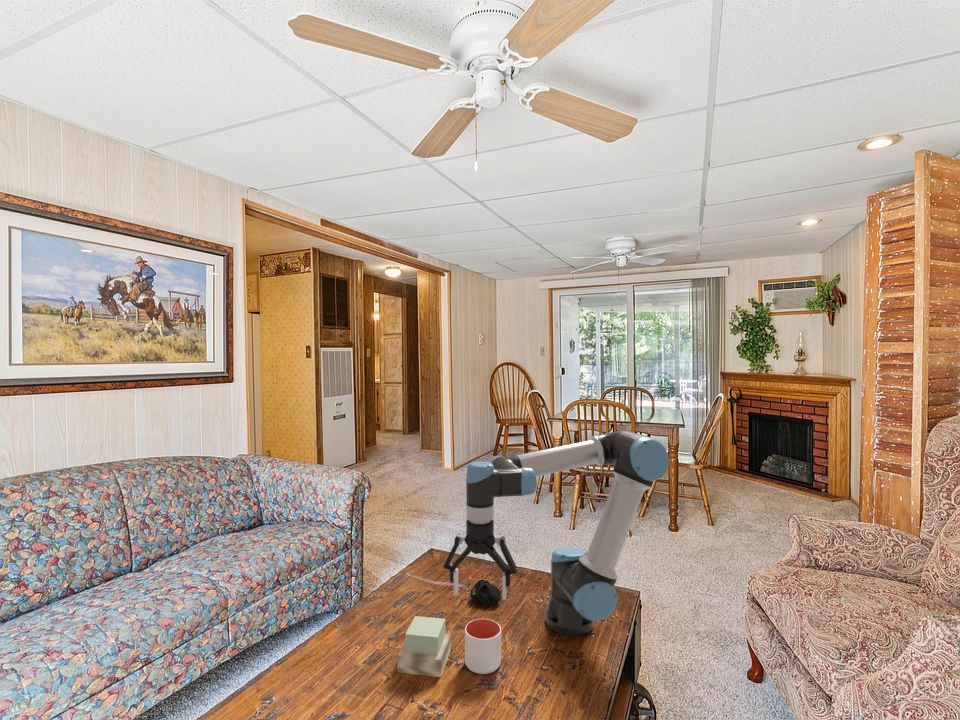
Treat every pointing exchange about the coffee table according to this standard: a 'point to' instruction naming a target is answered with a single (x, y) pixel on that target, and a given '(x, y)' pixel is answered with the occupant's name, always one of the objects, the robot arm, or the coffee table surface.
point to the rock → (485, 593)
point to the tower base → (424, 660)
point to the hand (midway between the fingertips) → (480, 595)
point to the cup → (483, 646)
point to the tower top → (425, 635)
